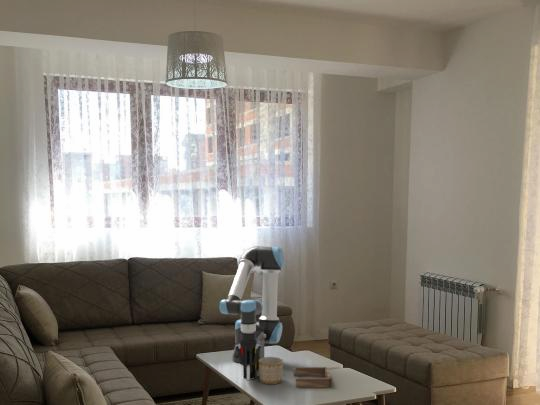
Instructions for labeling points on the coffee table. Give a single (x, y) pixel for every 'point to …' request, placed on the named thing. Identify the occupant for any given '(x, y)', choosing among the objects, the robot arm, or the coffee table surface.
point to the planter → (270, 370)
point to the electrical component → (255, 367)
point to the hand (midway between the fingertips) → (248, 378)
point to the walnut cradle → (312, 381)
